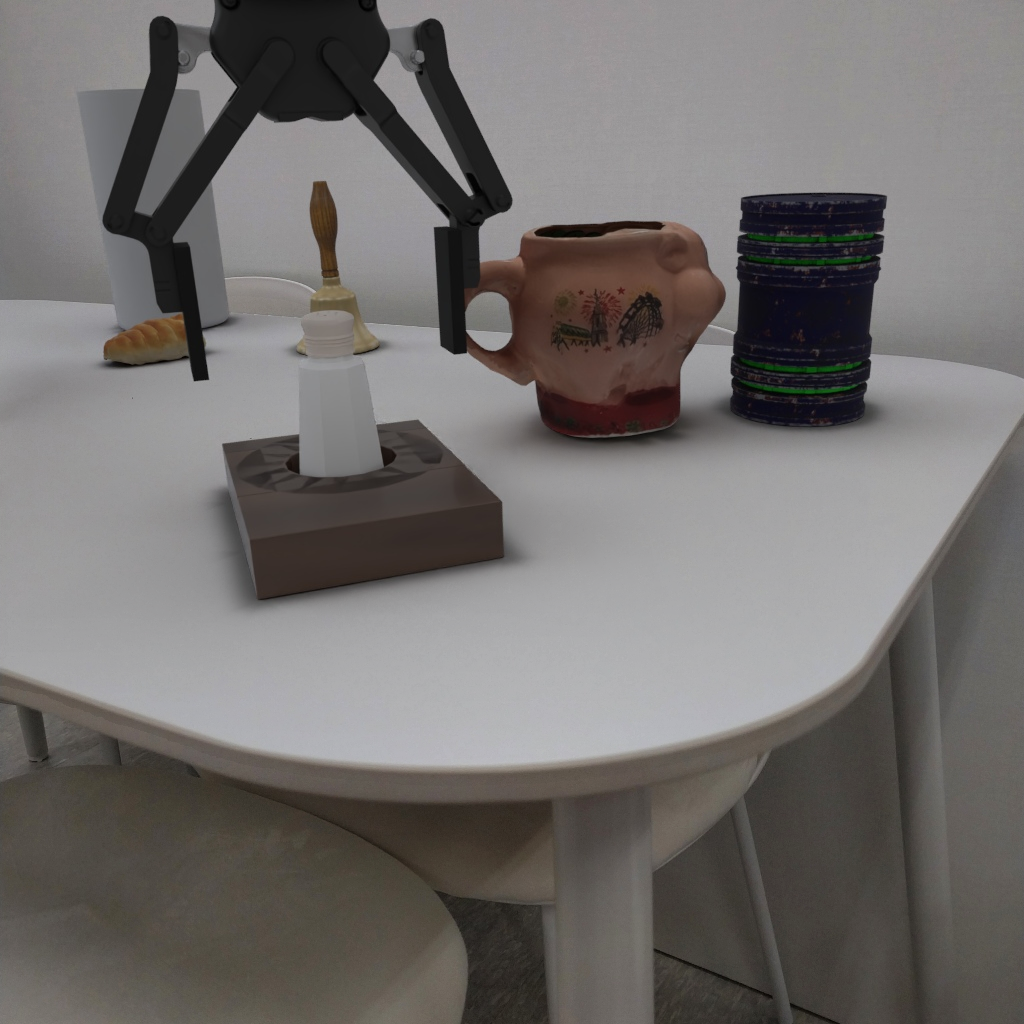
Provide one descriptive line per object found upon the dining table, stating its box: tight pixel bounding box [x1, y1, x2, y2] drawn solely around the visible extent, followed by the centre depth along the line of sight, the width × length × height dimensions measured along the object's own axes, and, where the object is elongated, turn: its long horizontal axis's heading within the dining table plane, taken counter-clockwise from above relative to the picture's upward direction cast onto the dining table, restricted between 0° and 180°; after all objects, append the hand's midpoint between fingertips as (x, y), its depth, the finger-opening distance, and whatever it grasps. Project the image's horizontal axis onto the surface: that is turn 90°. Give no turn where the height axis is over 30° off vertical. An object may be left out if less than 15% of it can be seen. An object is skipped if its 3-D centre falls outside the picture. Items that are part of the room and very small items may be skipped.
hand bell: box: [295, 180, 380, 355], centre depth 95 cm, size 8×8×16 cm
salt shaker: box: [298, 310, 384, 477], centre depth 53 cm, size 5×5×11 cm
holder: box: [221, 419, 505, 600], centre depth 53 cm, size 16×12×3 cm
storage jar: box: [729, 192, 888, 427], centre depth 69 cm, size 10×10×15 cm
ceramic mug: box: [464, 220, 727, 439], centre depth 66 cm, size 20×12×14 cm, turn 113°
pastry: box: [102, 314, 207, 366], centre depth 95 cm, size 9×7×4 cm
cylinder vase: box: [76, 88, 230, 331], centre depth 109 cm, size 12×12×25 cm
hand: (331, 362), depth 52 cm, fingers open, 13 cm apart
